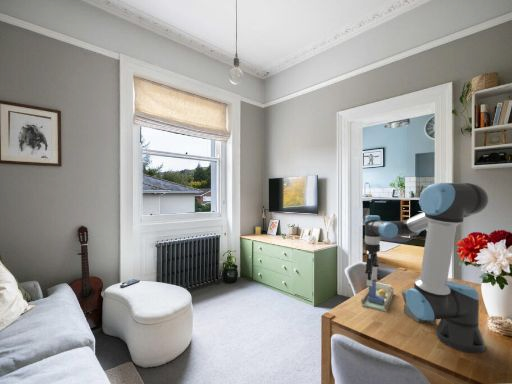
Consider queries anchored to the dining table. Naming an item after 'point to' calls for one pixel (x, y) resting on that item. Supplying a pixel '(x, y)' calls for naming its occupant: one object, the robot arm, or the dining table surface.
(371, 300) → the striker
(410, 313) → the digital clock
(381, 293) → the ball
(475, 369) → the dining table surface
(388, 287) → the pitch
